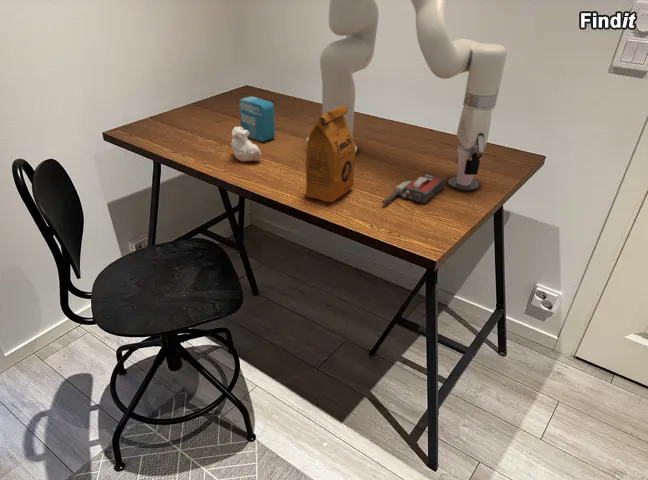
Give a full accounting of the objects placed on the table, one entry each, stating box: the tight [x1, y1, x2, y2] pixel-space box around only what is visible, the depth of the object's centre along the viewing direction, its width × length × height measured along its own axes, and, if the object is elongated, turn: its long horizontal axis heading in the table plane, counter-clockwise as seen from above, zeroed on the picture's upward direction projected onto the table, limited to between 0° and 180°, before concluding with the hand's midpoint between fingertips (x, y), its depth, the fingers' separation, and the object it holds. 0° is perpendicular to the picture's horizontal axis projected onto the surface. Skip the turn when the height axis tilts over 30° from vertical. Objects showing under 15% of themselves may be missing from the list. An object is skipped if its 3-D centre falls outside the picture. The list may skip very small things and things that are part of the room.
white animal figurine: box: [230, 126, 262, 163], centre depth 152 cm, size 12×8×11 cm
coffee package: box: [305, 106, 356, 203], centre depth 129 cm, size 10×12×22 cm
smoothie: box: [456, 144, 477, 186], centre depth 134 cm, size 6×6×14 cm
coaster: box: [447, 176, 480, 192], centre depth 138 cm, size 8×8×1 cm
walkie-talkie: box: [381, 172, 445, 205], centre depth 132 cm, size 9×4×20 cm
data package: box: [238, 95, 276, 143], centre depth 167 cm, size 12×4×12 cm, turn 44°
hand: (466, 168), depth 136 cm, fingers closed on smoothie, 6 cm apart
